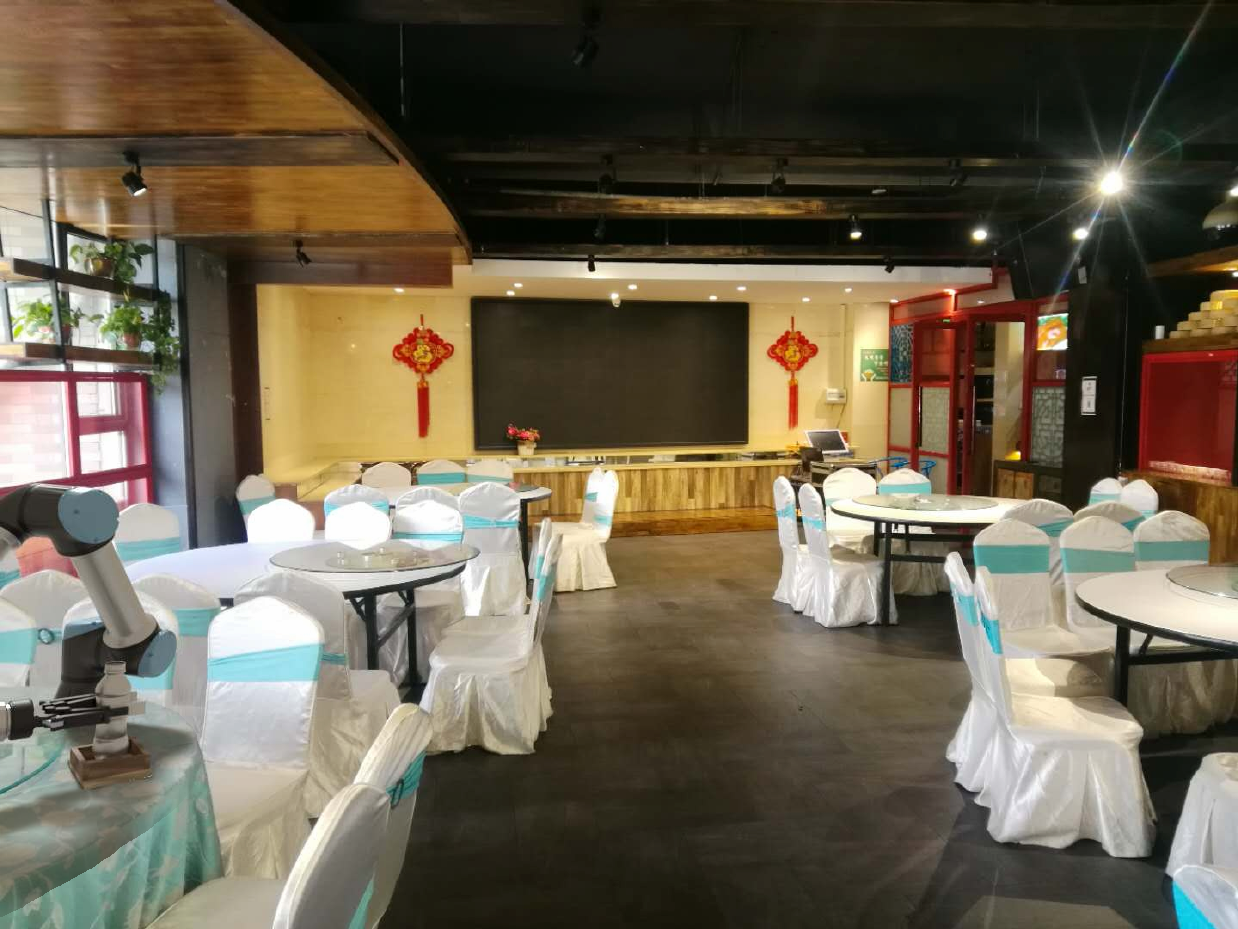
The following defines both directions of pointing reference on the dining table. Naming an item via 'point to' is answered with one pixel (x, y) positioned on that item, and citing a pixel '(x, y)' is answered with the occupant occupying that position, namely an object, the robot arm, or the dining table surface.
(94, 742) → the plastic bottle
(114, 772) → the open wooden box
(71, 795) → the dining table surface
